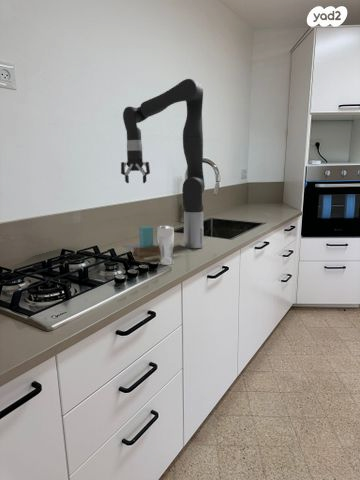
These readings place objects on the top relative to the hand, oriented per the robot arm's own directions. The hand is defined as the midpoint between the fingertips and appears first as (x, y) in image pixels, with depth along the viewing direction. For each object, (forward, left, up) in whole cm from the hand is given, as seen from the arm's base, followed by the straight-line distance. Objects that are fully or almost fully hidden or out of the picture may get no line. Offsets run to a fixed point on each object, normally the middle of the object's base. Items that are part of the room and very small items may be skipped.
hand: (135, 183), depth 174 cm
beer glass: (-21, +39, -30) cm, 53 cm away
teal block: (-11, +30, -29) cm, 43 cm away
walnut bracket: (-11, +30, -30) cm, 43 cm away
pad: (-3, +17, -30) cm, 34 cm away
